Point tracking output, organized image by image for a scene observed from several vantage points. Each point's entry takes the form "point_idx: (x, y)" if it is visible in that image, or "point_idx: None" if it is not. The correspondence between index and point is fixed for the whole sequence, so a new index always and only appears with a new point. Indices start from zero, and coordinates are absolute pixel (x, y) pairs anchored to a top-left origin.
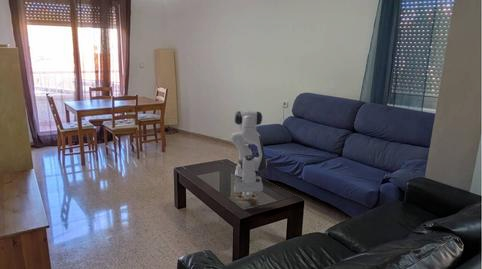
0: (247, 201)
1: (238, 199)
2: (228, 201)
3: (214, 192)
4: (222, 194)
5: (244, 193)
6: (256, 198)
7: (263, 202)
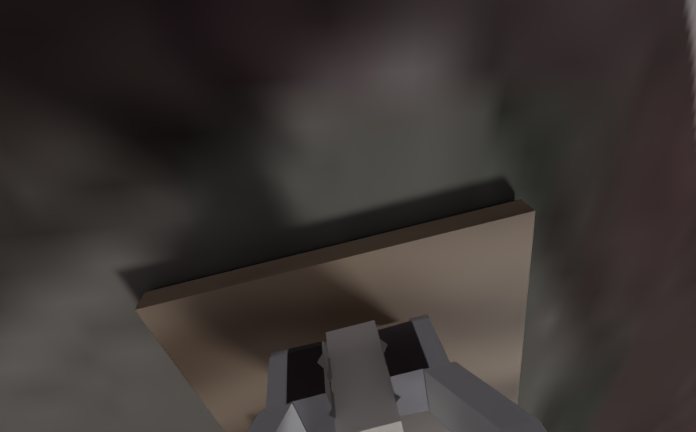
0: (356, 292)
1: (489, 329)
2: (610, 284)
3: (668, 426)
4: (612, 410)
5: (529, 422)
6: (219, 392)
7: (87, 322)
